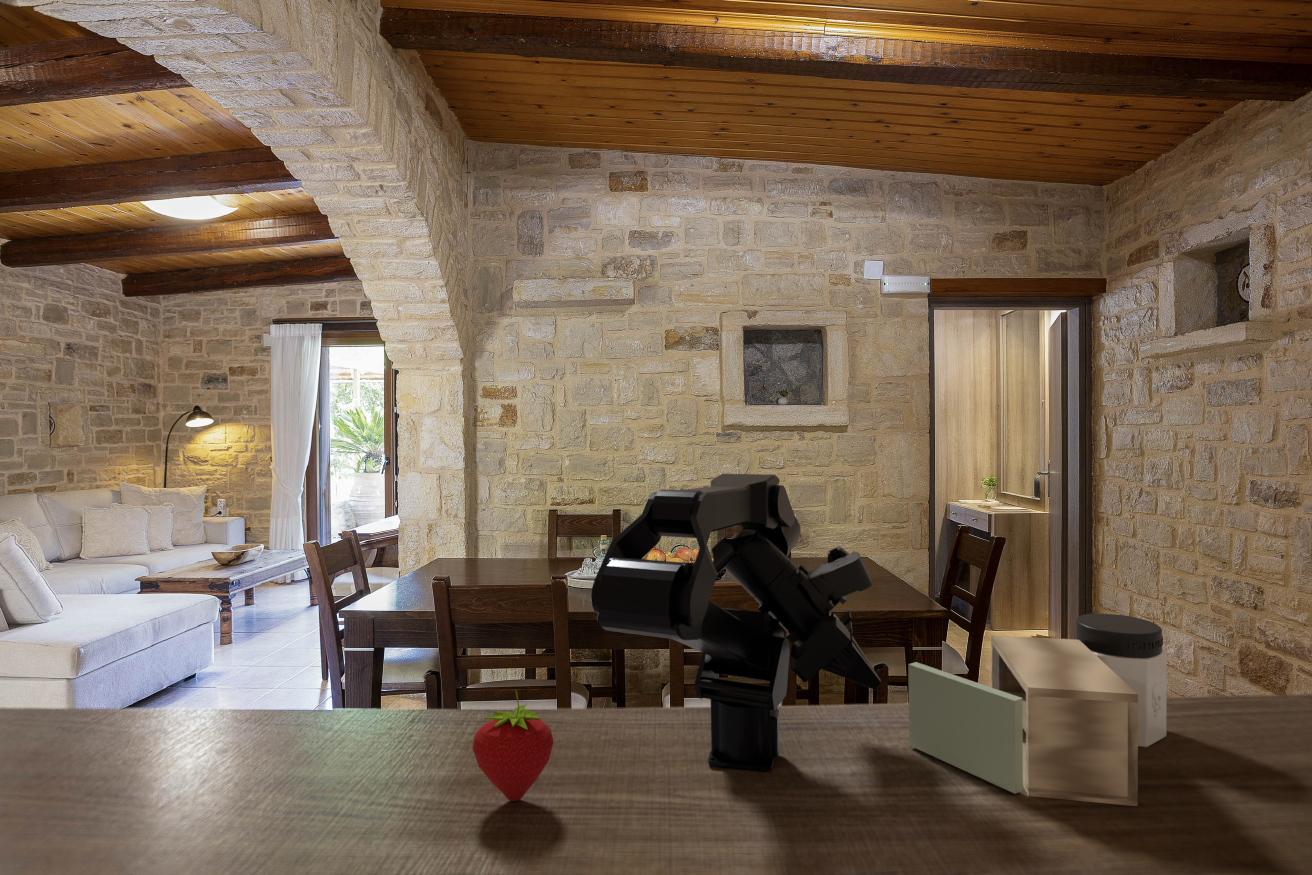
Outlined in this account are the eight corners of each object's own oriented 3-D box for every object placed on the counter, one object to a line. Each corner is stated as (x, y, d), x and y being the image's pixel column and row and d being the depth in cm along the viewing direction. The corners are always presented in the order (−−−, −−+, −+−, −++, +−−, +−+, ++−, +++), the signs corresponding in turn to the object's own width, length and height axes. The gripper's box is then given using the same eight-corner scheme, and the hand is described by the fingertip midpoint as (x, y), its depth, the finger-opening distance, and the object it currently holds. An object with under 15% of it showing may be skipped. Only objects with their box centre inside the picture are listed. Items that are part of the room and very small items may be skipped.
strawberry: (482, 784, 72) (479, 683, 72) (558, 782, 72) (556, 682, 72) (466, 817, 66) (463, 707, 66) (550, 815, 66) (547, 706, 66)
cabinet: (1028, 795, 68) (1028, 687, 68) (991, 723, 84) (991, 635, 83) (1137, 806, 66) (1137, 694, 66) (1078, 730, 81) (1078, 639, 81)
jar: (1139, 754, 76) (1139, 639, 75) (1059, 727, 82) (1059, 621, 82) (1177, 732, 80) (1178, 624, 80) (1099, 708, 87) (1099, 608, 87)
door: (1015, 793, 68) (1014, 700, 68) (908, 744, 78) (908, 664, 78) (1022, 789, 68) (1022, 697, 68) (916, 742, 79) (915, 661, 78)
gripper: (824, 542, 69) (949, 665, 67) (825, 515, 88) (923, 611, 85) (742, 621, 71) (860, 742, 69) (759, 579, 90) (854, 674, 87)
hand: (878, 685), depth 78 cm, fingers closed
